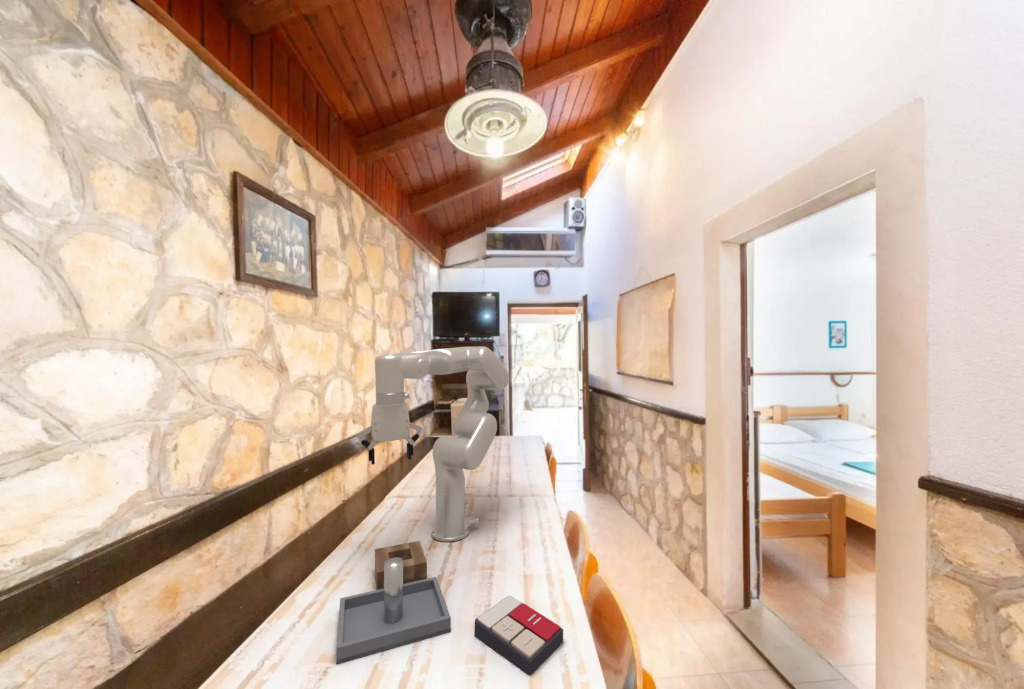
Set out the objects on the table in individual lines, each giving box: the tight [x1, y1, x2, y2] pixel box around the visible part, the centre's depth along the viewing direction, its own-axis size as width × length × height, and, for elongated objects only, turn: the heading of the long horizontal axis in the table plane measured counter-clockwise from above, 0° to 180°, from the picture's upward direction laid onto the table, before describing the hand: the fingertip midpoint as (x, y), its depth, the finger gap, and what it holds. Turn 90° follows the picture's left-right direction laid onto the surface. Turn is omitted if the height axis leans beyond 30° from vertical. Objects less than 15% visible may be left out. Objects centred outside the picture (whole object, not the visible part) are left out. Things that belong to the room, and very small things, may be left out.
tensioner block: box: [374, 540, 428, 590], centre depth 100 cm, size 12×12×6 cm
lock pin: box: [384, 557, 403, 624], centre depth 84 cm, size 4×4×12 cm
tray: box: [336, 576, 452, 665], centre depth 84 cm, size 22×16×3 cm
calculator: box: [473, 595, 564, 676], centre depth 78 cm, size 11×4×15 cm
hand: (391, 460), depth 105 cm, fingers open, 9 cm apart
